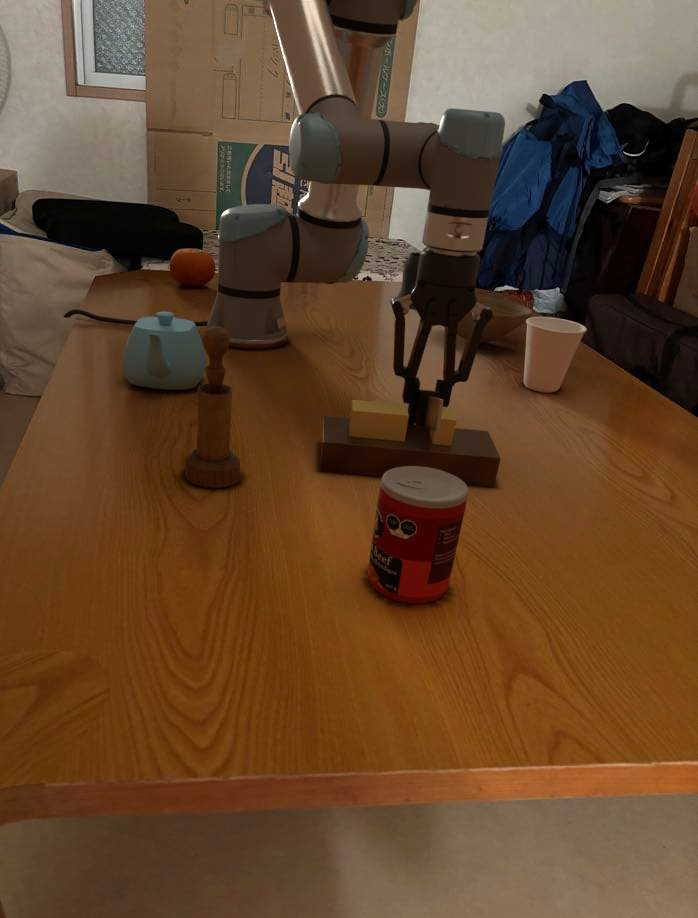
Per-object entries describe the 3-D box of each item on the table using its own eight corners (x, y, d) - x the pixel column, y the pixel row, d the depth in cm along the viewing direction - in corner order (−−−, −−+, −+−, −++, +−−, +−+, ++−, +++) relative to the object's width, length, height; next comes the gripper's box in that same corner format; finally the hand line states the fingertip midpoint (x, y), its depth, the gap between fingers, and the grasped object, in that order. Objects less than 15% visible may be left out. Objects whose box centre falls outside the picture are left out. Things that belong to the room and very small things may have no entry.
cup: (572, 400, 130) (590, 335, 125) (513, 392, 131) (528, 327, 126) (566, 382, 139) (583, 321, 133) (510, 375, 140) (524, 313, 134)
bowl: (465, 326, 169) (472, 289, 165) (540, 348, 158) (549, 308, 154) (413, 337, 157) (419, 297, 153) (490, 362, 146) (499, 319, 142)
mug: (434, 310, 180) (443, 260, 174) (395, 306, 180) (402, 256, 175) (431, 299, 190) (439, 251, 185) (394, 295, 191) (401, 247, 185)
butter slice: (432, 444, 98) (437, 418, 96) (429, 432, 101) (434, 407, 99) (451, 446, 97) (456, 420, 96) (447, 434, 101) (452, 408, 99)
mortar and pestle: (247, 472, 95) (255, 326, 86) (227, 493, 90) (232, 339, 81) (198, 461, 97) (201, 317, 88) (175, 481, 92) (175, 329, 83)
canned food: (360, 562, 79) (374, 463, 73) (436, 563, 80) (456, 466, 74) (373, 605, 72) (390, 500, 67) (456, 606, 73) (479, 503, 68)
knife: (448, 433, 93) (453, 394, 92) (426, 431, 93) (431, 392, 92) (427, 422, 112) (431, 390, 111) (409, 420, 112) (413, 388, 111)
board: (319, 471, 97) (323, 441, 95) (321, 443, 105) (324, 415, 103) (494, 487, 97) (500, 458, 95) (482, 458, 105) (488, 431, 103)
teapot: (107, 326, 108) (134, 297, 124) (110, 399, 113) (135, 362, 129) (197, 334, 108) (212, 304, 124) (196, 406, 114) (211, 369, 129)
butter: (349, 436, 98) (352, 410, 96) (348, 425, 101) (352, 399, 99) (404, 441, 98) (408, 415, 96) (402, 429, 101) (406, 404, 99)
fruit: (163, 286, 179) (163, 250, 175) (176, 278, 188) (177, 243, 184) (208, 292, 178) (209, 255, 174) (219, 283, 187) (220, 248, 183)
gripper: (390, 249, 94) (366, 431, 105) (519, 261, 93) (481, 441, 105) (387, 239, 100) (364, 411, 112) (508, 251, 100) (472, 422, 112)
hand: (421, 426), depth 108 cm, fingers closed on knife, 3 cm apart
